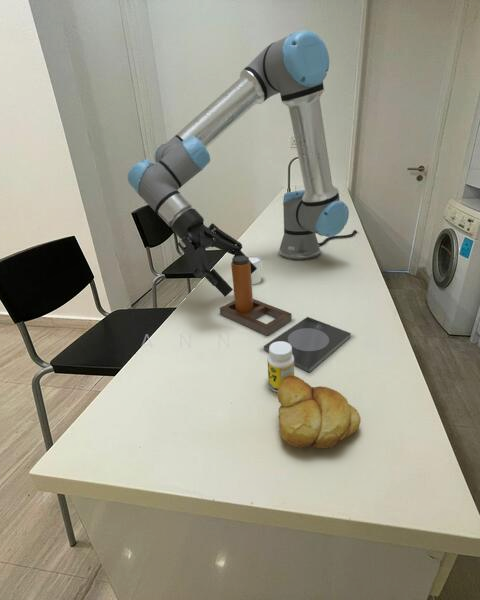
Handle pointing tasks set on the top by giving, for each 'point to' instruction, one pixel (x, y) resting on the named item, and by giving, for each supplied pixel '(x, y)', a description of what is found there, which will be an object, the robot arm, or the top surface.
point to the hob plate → (311, 342)
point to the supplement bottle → (279, 363)
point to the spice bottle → (242, 284)
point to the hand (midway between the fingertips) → (242, 282)
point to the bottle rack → (257, 311)
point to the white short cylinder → (257, 273)
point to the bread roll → (314, 414)
